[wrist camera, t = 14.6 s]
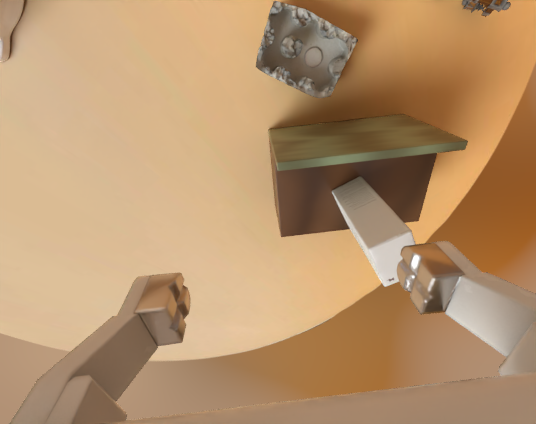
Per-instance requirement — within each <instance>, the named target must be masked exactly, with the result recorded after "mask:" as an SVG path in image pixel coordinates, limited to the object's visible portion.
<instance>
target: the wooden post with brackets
mask: <svg viewBox="0 0 536 424" xmlns="http://www.w3.org/2000/svg"><path fill="white" fill-rule="evenodd" d="M507 1H508V0H463V1H462V5H465V7H464V8H463V9H470V10H472V11H471V13H472V12H473V11H474V10H476V9H478V11H479V10H480V9H482V11H483V9H484V8H485V7H486V9H485V10H484V11H483V13H482V16H485V17H486V16H488V15H490V13H491V12H492V11H493V10H497V11H498V12H499V11H500V10H507V9H508V8H509V7H510V5H511V3H510V2H507ZM480 3H481V4H482V5H481V4H480ZM483 4H484V5H485V7H483Z"/></svg>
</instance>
